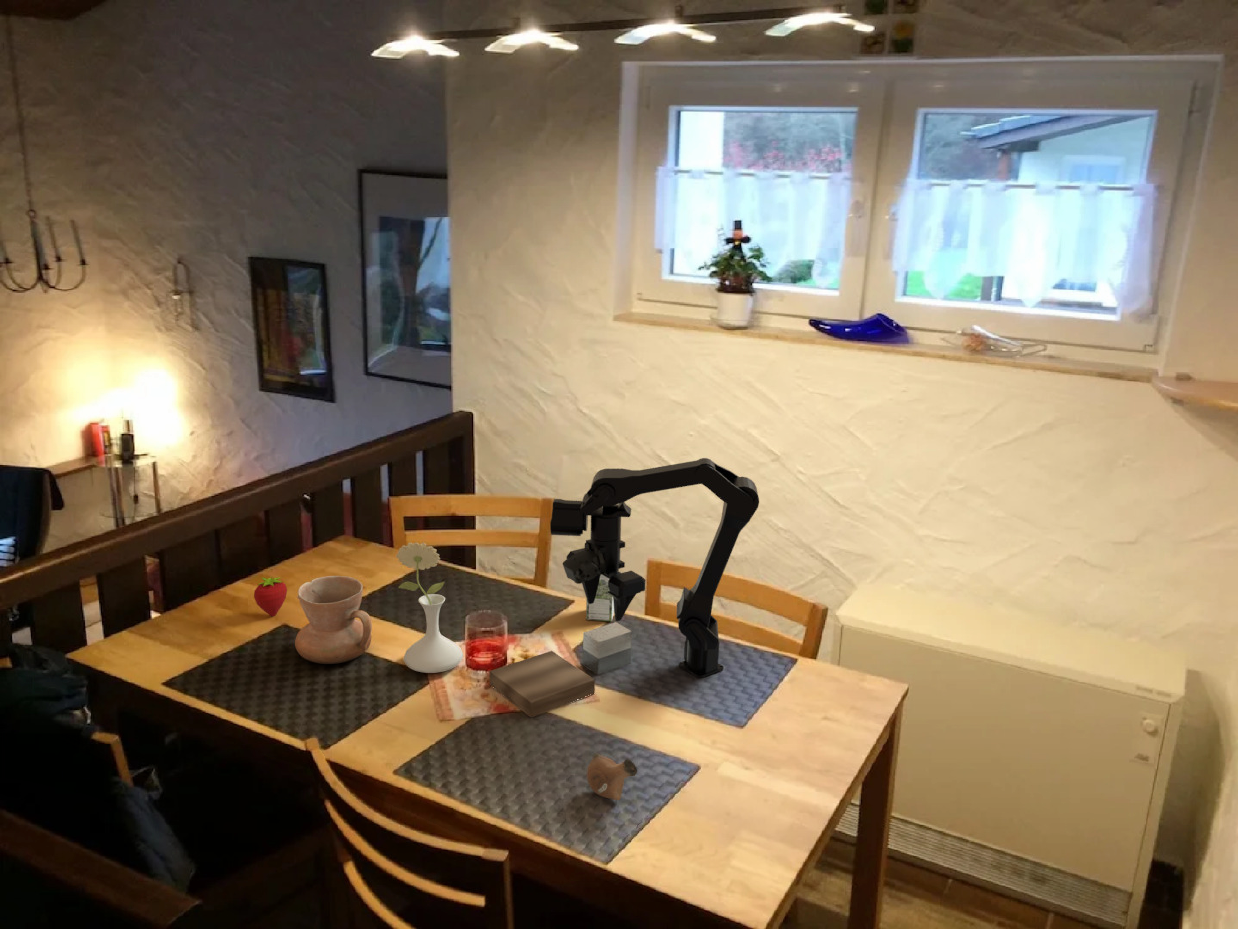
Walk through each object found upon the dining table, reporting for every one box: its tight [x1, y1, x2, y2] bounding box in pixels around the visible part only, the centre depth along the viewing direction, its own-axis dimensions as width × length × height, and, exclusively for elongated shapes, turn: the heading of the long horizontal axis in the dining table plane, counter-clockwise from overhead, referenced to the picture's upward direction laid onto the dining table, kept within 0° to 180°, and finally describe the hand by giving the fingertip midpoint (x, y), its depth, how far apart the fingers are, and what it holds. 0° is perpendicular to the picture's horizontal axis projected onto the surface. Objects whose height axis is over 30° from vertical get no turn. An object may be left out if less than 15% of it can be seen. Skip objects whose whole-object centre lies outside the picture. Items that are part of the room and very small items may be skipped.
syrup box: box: [585, 575, 614, 622], centre depth 220 cm, size 6×6×14 cm
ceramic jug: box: [294, 575, 373, 665], centre depth 200 cm, size 18×14×14 cm
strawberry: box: [253, 576, 288, 617], centre depth 217 cm, size 6×8×10 cm
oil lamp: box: [586, 752, 638, 801], centre depth 159 cm, size 9×4×8 cm, turn 58°
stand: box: [489, 650, 596, 718], centre depth 191 cm, size 14×14×3 cm
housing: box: [582, 621, 633, 676], centre depth 200 cm, size 8×5×7 cm, turn 128°
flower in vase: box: [395, 542, 464, 674], centre depth 196 cm, size 13×11×25 cm
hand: (604, 611), depth 198 cm, fingers open, 9 cm apart
